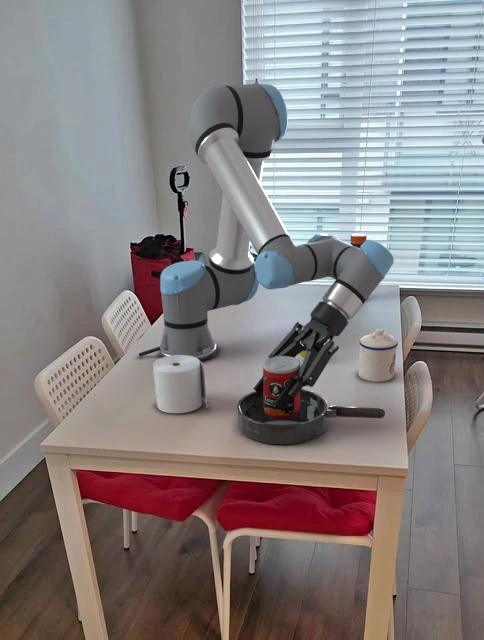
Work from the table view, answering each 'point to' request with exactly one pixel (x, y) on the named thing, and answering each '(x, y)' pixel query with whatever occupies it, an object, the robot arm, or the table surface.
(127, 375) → the table surface
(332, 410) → the pan handle
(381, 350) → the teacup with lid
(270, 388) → the canned food
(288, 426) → the frying pan
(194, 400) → the toilet tissue
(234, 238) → the robot arm
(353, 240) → the bottle
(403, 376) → the table surface
